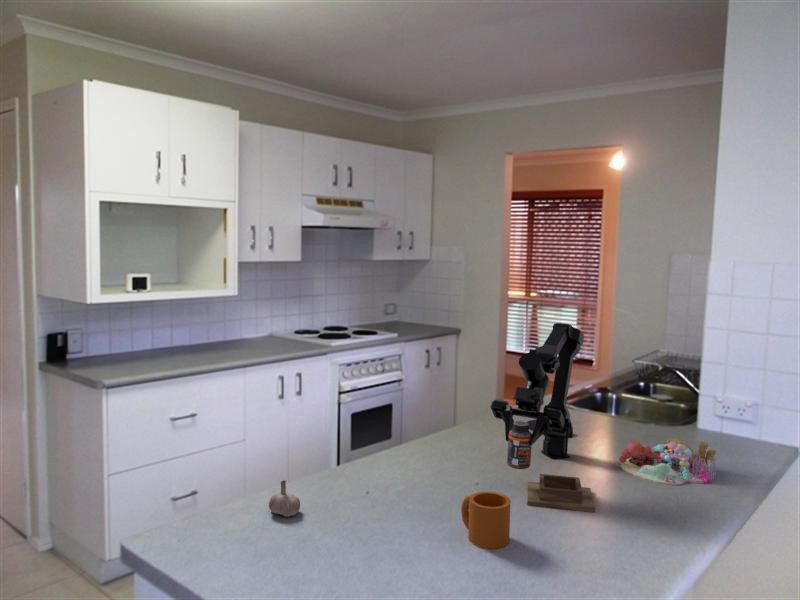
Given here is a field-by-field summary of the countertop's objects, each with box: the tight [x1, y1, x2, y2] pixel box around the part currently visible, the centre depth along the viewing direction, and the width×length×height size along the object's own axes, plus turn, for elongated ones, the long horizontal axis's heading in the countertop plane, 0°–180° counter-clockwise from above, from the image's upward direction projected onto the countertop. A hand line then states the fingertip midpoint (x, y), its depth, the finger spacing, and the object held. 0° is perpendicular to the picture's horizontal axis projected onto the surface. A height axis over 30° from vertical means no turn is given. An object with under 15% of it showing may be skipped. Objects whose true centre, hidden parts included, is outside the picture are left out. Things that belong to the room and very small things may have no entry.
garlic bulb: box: [268, 479, 301, 518], centre depth 149 cm, size 8×7×8 cm
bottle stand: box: [526, 473, 596, 513], centre depth 163 cm, size 13×16×4 cm
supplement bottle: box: [506, 420, 533, 470], centre depth 166 cm, size 6×6×11 cm
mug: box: [460, 491, 512, 550], centre depth 140 cm, size 9×12×9 cm
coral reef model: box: [618, 437, 717, 486], centre depth 185 cm, size 25×24×9 cm
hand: (518, 442), depth 164 cm, fingers closed on supplement bottle, 6 cm apart
